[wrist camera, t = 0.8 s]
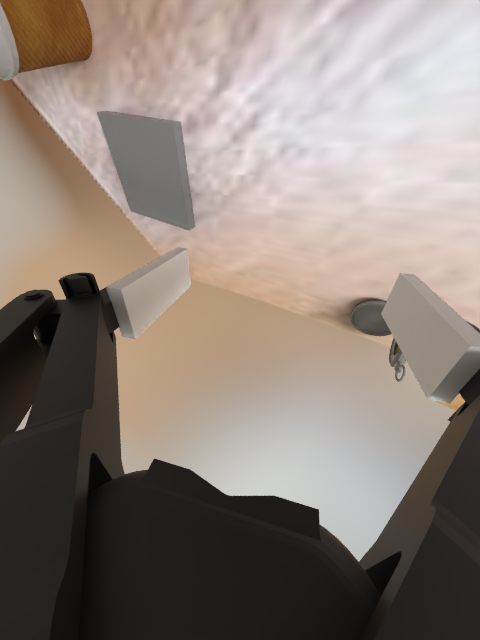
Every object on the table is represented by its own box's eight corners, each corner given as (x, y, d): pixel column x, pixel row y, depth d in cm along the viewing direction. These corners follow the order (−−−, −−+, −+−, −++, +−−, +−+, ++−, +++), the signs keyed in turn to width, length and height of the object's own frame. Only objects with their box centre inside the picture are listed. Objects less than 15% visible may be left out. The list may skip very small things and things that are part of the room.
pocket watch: (344, 303, 35) (328, 351, 29) (410, 289, 28) (406, 346, 23) (365, 340, 37) (353, 390, 32) (428, 334, 31) (429, 395, 25)
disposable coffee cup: (26, -92, 22) (-154, -164, 15) (104, 1, 24) (-25, -26, 17) (44, 35, 30) (-72, 25, 23) (102, 97, 32) (11, 106, 25)
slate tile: (105, 110, 33) (96, 111, 32) (180, 121, 28) (172, 123, 28) (137, 208, 43) (131, 211, 42) (194, 226, 39) (189, 230, 38)
